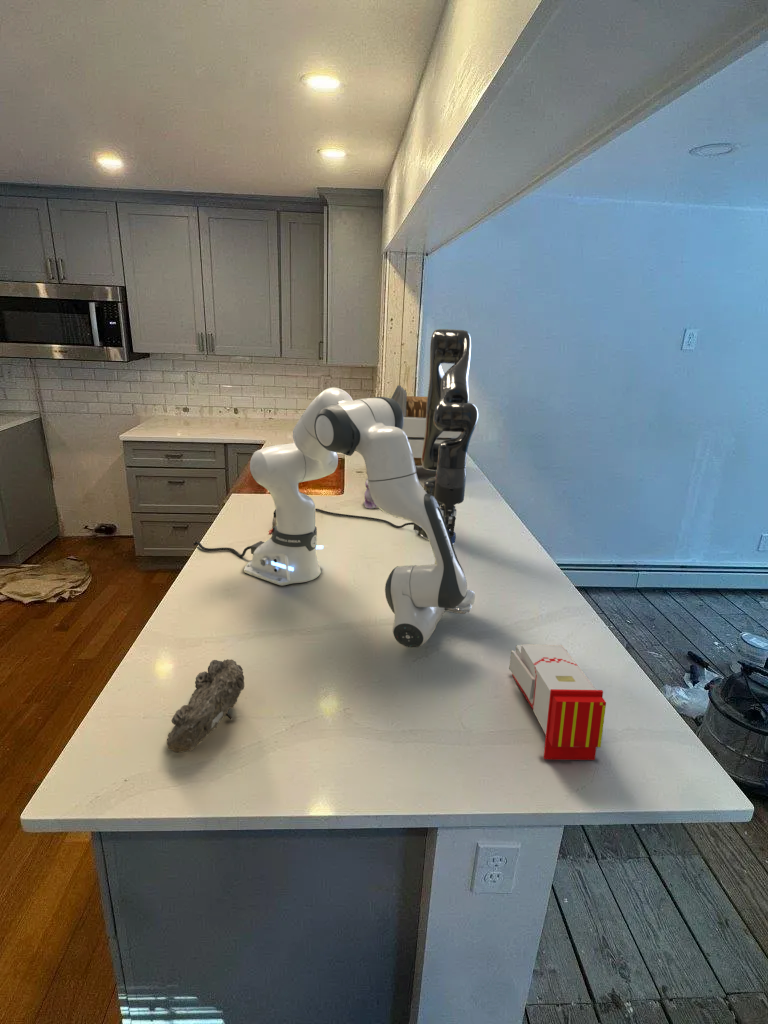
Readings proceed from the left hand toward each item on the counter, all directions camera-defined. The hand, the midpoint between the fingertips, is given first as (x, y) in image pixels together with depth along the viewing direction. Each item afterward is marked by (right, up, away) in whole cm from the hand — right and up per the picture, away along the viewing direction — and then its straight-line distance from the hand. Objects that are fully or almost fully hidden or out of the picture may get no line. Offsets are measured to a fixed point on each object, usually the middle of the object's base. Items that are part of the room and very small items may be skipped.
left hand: (442, 581), depth 153 cm
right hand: (0, +10, -5) cm, 11 cm away
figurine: (-20, +21, +75) cm, 80 cm away
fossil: (-48, -20, -44) cm, 69 cm away
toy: (+17, -21, -38) cm, 47 cm away
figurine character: (-51, +13, +49) cm, 72 cm away
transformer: (+2, +38, +122) cm, 128 cm away
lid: (0, +13, -6) cm, 14 cm away
